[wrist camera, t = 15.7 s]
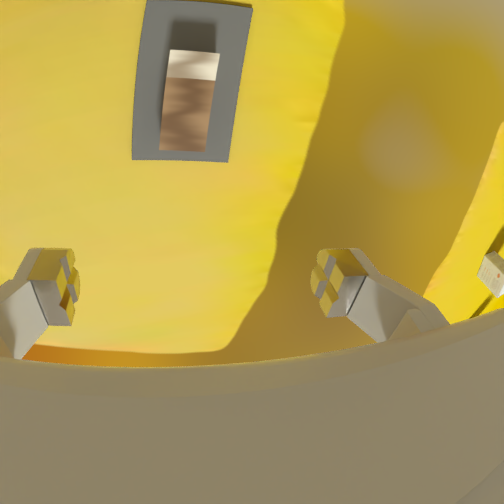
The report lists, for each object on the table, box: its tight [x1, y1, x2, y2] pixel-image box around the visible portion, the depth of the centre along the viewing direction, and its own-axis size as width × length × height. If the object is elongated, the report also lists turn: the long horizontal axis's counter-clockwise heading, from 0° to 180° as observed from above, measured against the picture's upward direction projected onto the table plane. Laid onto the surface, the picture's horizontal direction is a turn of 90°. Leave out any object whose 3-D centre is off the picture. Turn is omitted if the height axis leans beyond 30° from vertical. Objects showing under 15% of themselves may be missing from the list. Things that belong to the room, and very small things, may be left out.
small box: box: [477, 251, 504, 298], centre depth 64 cm, size 8×6×10 cm
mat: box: [132, 0, 253, 163], centre depth 30 cm, size 12×20×1 cm, turn 171°
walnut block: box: [159, 50, 220, 152], centre depth 29 cm, size 5×4×11 cm
